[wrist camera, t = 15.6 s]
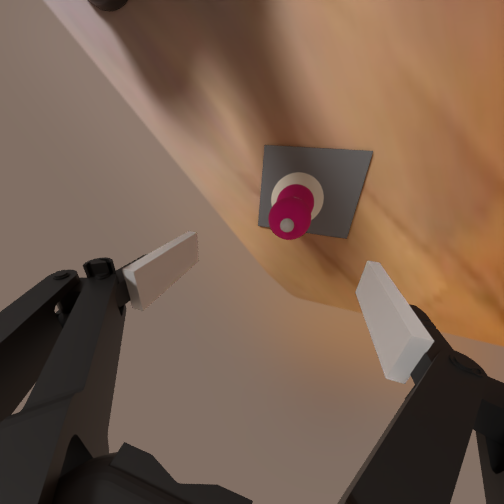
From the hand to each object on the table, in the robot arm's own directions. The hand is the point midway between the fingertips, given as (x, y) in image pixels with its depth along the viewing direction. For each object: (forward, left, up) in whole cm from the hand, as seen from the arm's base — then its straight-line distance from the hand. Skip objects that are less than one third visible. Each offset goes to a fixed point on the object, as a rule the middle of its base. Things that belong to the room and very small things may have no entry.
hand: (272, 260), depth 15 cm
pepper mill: (0, 0, -30) cm, 30 cm away
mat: (+2, +1, -31) cm, 31 cm away
